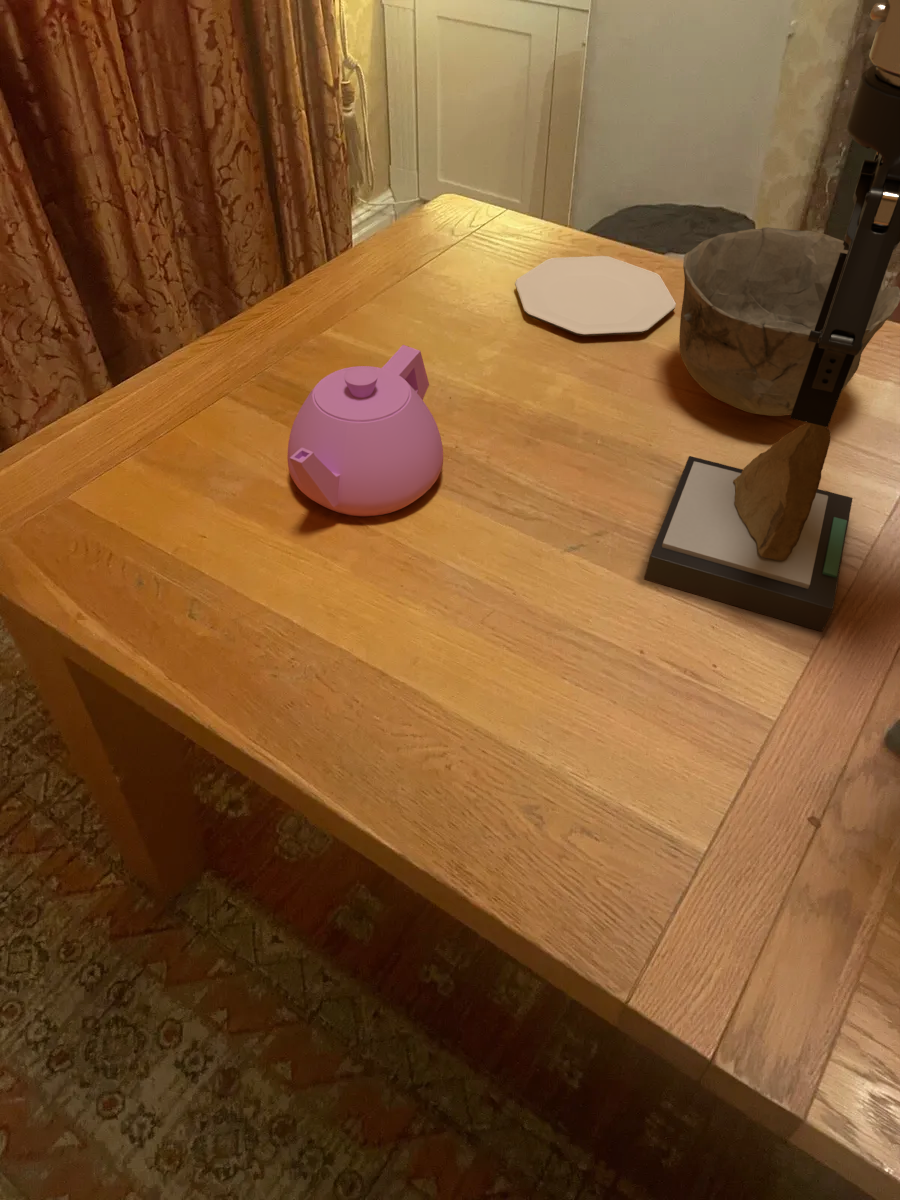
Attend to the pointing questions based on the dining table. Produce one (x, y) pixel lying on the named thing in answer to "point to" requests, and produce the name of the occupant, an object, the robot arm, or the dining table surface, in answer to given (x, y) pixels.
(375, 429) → the teapot
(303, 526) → the dining table surface
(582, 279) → the plate
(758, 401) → the bowl
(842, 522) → the scale
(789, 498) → the rock
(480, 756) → the dining table surface
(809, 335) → the robot arm
